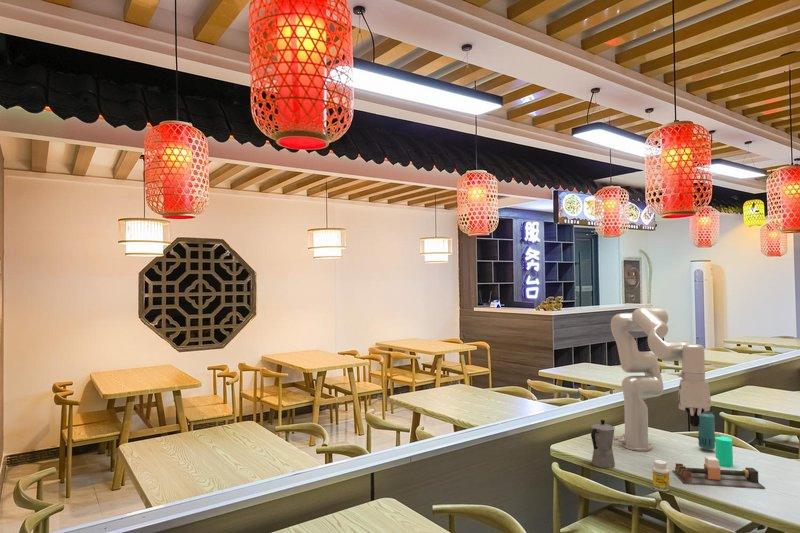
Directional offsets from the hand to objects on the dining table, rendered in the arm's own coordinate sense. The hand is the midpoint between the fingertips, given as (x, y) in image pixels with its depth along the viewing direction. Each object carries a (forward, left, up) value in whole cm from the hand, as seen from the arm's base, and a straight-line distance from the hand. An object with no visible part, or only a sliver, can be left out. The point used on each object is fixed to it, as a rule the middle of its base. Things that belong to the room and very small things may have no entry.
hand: (694, 425), depth 193 cm
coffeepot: (-32, +9, -20) cm, 39 cm away
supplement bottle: (-16, -12, -20) cm, 28 cm away
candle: (+17, +18, -20) cm, 32 cm away
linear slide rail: (+7, 0, -20) cm, 21 cm away
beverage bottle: (+17, +35, -20) cm, 44 cm away
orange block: (+6, 0, -19) cm, 20 cm away
